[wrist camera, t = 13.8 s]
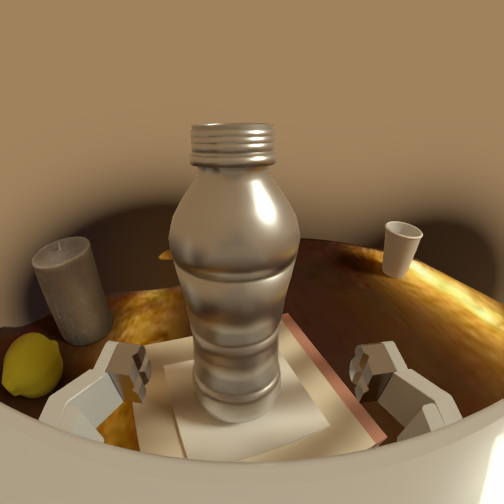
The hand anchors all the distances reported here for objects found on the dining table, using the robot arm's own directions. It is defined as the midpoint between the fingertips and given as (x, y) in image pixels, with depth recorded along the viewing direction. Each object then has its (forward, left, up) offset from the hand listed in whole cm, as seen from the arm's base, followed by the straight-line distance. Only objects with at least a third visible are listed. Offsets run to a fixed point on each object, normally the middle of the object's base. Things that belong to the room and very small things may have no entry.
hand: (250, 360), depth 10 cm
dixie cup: (+26, -43, -21) cm, 55 cm away
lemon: (+18, +23, -21) cm, 35 cm away
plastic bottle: (+6, -1, -12) cm, 14 cm away
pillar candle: (+30, +17, -21) cm, 40 cm away
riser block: (+6, -1, -20) cm, 21 cm away
